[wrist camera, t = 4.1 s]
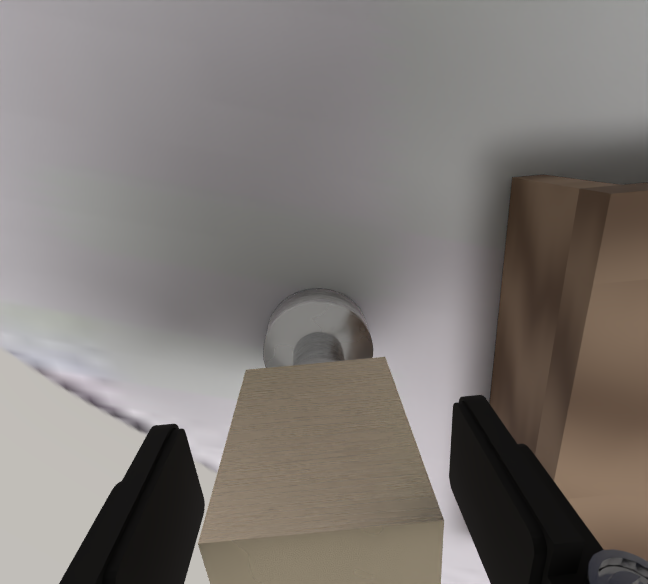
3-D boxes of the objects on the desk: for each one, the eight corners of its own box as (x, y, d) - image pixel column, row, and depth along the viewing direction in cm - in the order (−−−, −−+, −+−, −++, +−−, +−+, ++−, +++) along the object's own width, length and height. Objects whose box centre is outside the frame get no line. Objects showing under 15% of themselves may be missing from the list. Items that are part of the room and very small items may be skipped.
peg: (260, 293, 16) (183, 536, 6) (365, 283, 16) (456, 510, 6) (274, 381, 17) (231, 683, 8) (369, 372, 17) (446, 662, 8)
